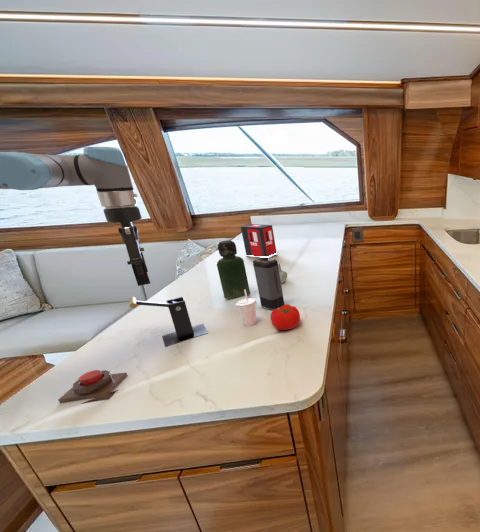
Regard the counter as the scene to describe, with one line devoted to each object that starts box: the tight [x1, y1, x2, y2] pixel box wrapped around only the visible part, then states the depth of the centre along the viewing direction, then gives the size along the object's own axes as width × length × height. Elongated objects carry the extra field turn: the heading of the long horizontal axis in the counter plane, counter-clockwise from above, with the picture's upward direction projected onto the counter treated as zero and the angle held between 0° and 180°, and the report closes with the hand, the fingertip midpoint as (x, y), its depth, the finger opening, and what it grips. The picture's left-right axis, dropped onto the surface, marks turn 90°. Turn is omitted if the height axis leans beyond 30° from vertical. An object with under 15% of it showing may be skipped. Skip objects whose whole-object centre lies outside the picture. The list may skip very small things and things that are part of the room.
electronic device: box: [252, 258, 285, 311], centre depth 120 cm, size 9×6×20 cm, turn 59°
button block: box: [57, 369, 129, 405], centre depth 77 cm, size 10×8×4 cm
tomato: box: [270, 303, 301, 331], centre depth 107 cm, size 10×11×6 cm
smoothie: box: [235, 289, 257, 327], centre depth 106 cm, size 6×6×14 cm
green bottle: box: [216, 240, 251, 300], centre depth 131 cm, size 10×10×25 cm
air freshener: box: [277, 261, 288, 284], centre depth 147 cm, size 11×8×10 cm
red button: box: [78, 369, 103, 386], centre depth 76 cm, size 4×4×2 cm
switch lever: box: [128, 296, 179, 309], centre depth 94 cm, size 13×6×2 cm, turn 132°
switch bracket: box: [161, 296, 209, 348], centre depth 100 cm, size 12×9×14 cm
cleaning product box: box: [240, 223, 277, 256], centre depth 191 cm, size 16×9×20 cm, turn 72°
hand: (143, 278), depth 89 cm, fingers open, 13 cm apart
